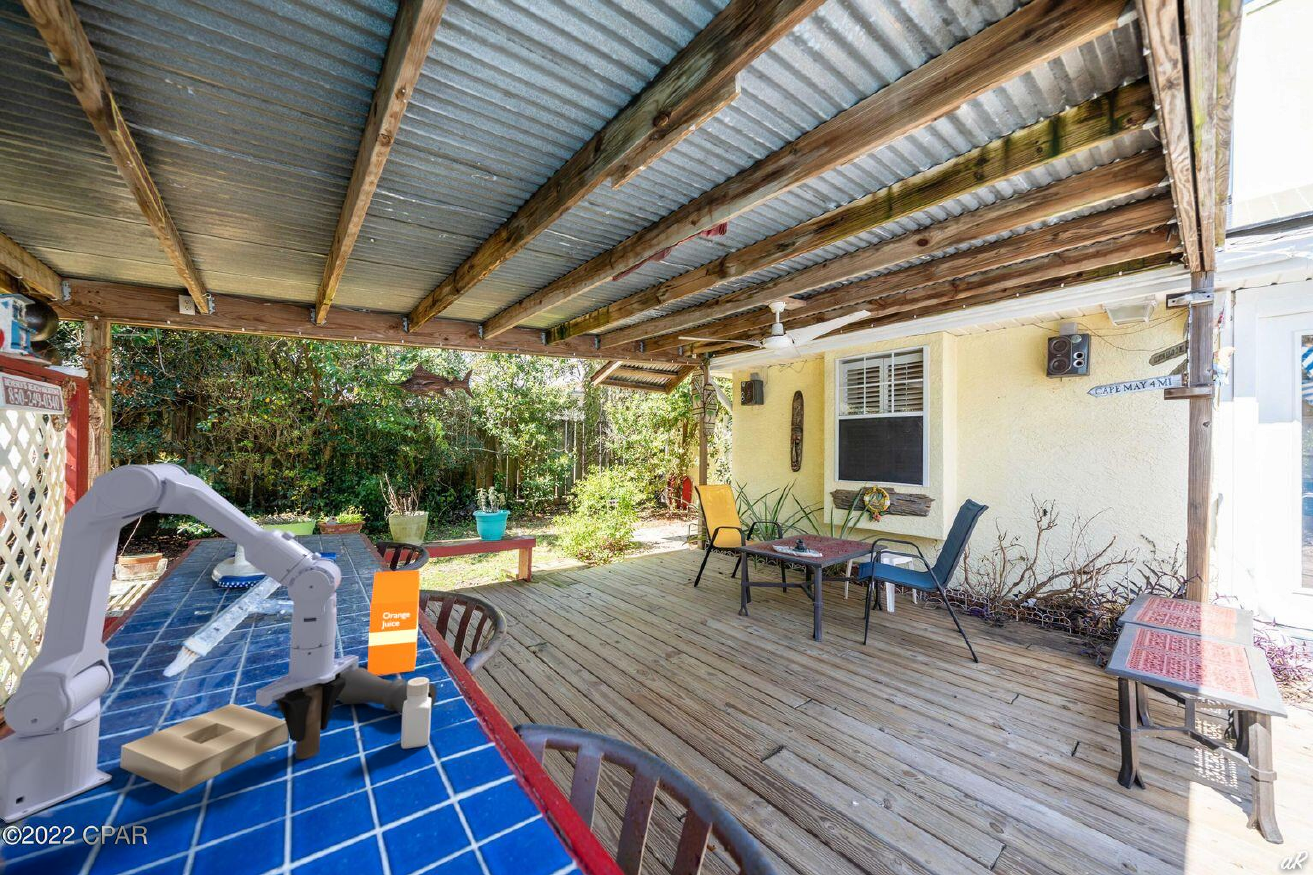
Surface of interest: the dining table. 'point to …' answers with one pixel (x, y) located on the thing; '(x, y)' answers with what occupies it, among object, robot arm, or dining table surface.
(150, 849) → the dining table surface
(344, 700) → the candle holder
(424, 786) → the dining table surface
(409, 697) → the pepper shaker
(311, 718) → the walnut peg
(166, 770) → the socket block
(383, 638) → the orange juice
